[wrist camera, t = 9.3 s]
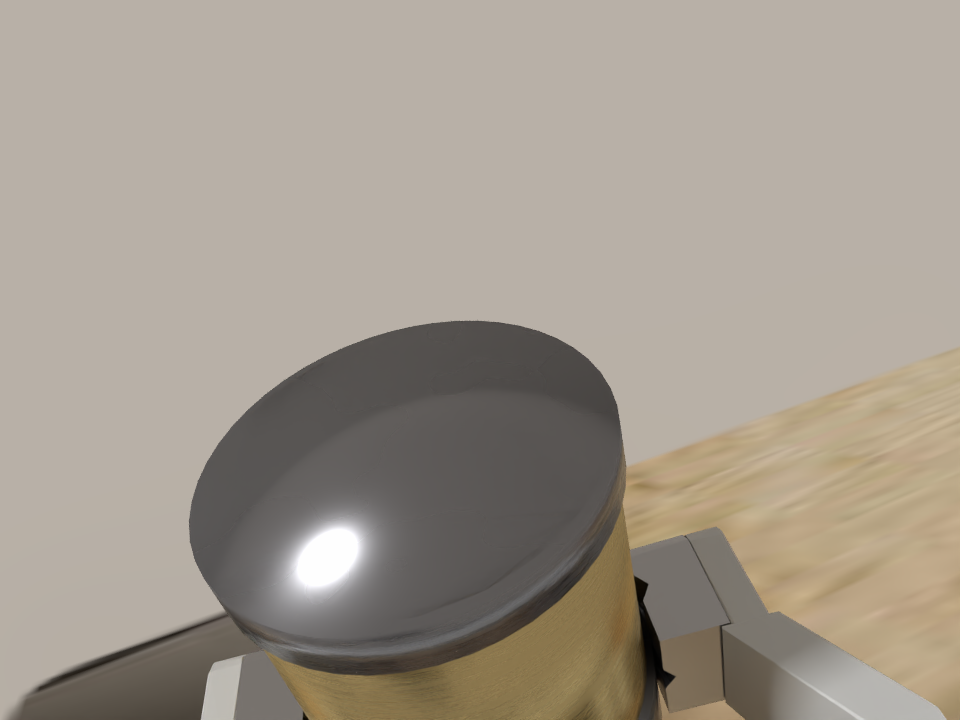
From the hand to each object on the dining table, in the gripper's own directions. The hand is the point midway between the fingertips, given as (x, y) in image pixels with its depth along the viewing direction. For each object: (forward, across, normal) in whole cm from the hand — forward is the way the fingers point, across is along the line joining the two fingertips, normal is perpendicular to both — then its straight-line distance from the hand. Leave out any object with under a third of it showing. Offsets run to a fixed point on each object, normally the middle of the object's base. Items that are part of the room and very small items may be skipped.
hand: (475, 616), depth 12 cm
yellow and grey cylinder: (-1, 0, -6) cm, 6 cm away
